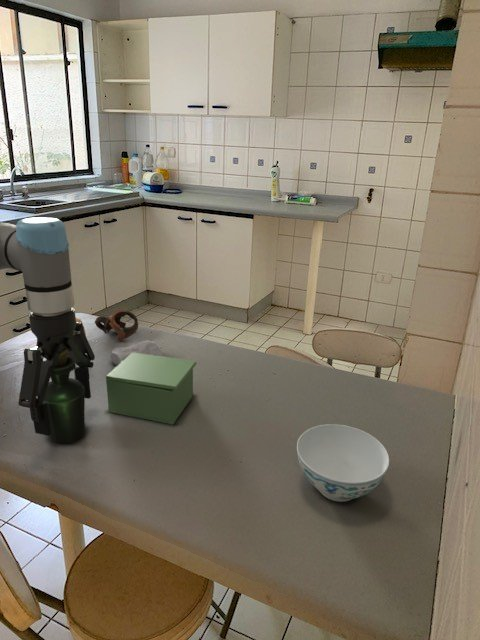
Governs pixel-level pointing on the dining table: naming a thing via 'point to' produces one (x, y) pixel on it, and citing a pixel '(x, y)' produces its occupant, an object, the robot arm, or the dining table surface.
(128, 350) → the stone block
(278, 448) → the dining table surface
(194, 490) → the dining table surface
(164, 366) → the chest lid
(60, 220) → the robot arm
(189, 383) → the chest
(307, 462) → the chinaware
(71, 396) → the potion bottle
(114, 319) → the brown curved loop piece
